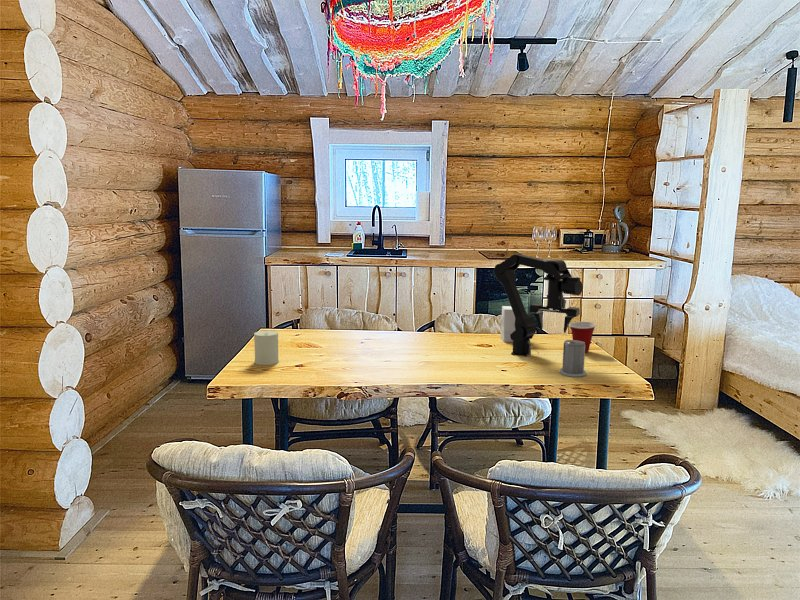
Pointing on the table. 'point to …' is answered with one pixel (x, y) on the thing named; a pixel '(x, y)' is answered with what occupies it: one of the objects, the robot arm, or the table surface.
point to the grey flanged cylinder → (573, 357)
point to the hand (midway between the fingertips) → (553, 331)
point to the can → (266, 347)
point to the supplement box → (507, 323)
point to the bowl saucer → (573, 374)
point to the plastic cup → (583, 332)
